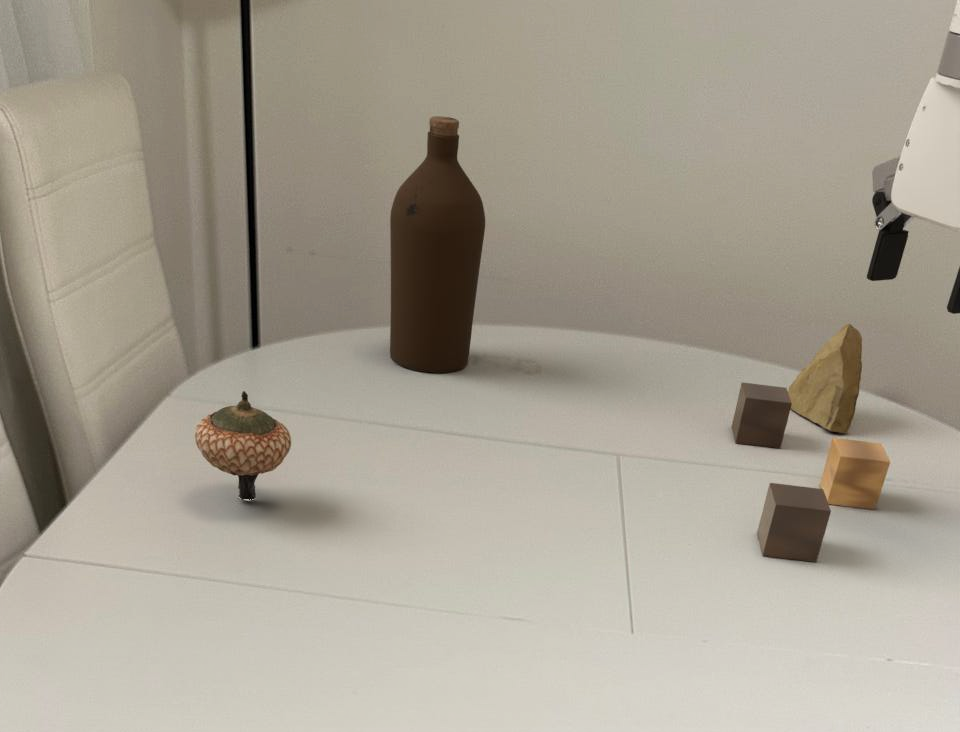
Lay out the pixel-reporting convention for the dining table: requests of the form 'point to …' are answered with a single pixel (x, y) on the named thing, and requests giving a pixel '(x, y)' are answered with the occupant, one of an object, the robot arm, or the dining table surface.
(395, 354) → the olive oil
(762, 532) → the walnut block
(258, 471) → the acorn
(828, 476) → the maple block
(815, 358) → the rock
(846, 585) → the dining table surface
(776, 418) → the walnut block
